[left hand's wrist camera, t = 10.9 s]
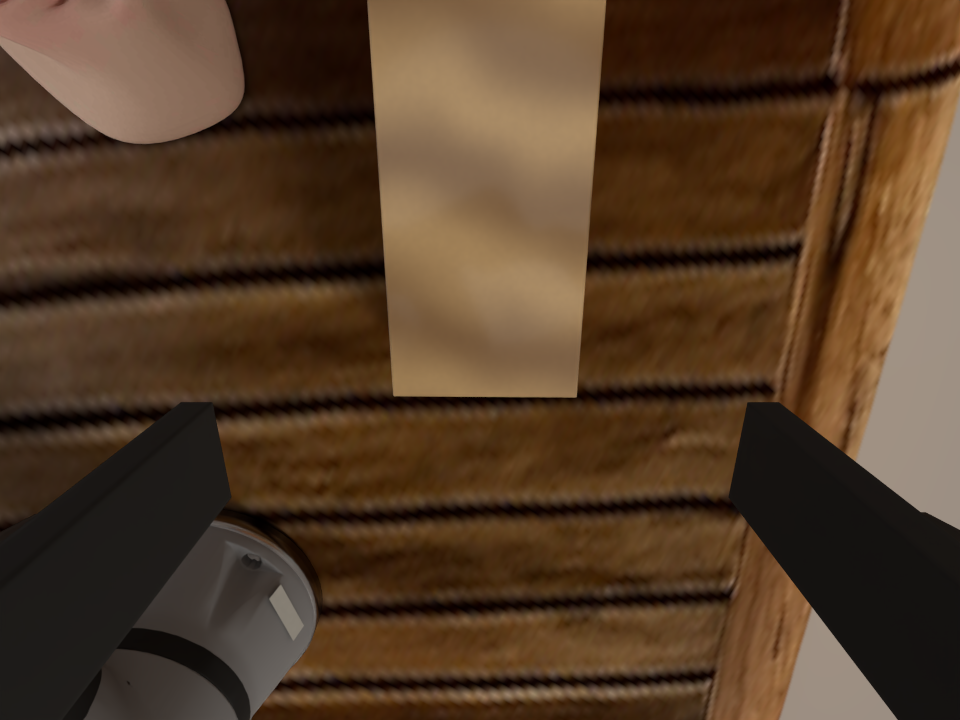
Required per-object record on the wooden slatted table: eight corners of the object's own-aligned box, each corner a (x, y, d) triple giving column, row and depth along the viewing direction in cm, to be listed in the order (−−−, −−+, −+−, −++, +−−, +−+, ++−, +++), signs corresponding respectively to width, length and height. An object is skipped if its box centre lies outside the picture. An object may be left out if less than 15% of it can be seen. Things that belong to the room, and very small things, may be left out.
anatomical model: (251, 55, 23) (77, 202, 25) (285, 70, 26) (130, 197, 29) (10, -289, 19) (-169, -78, 21) (88, -214, 23) (-72, -42, 25)
